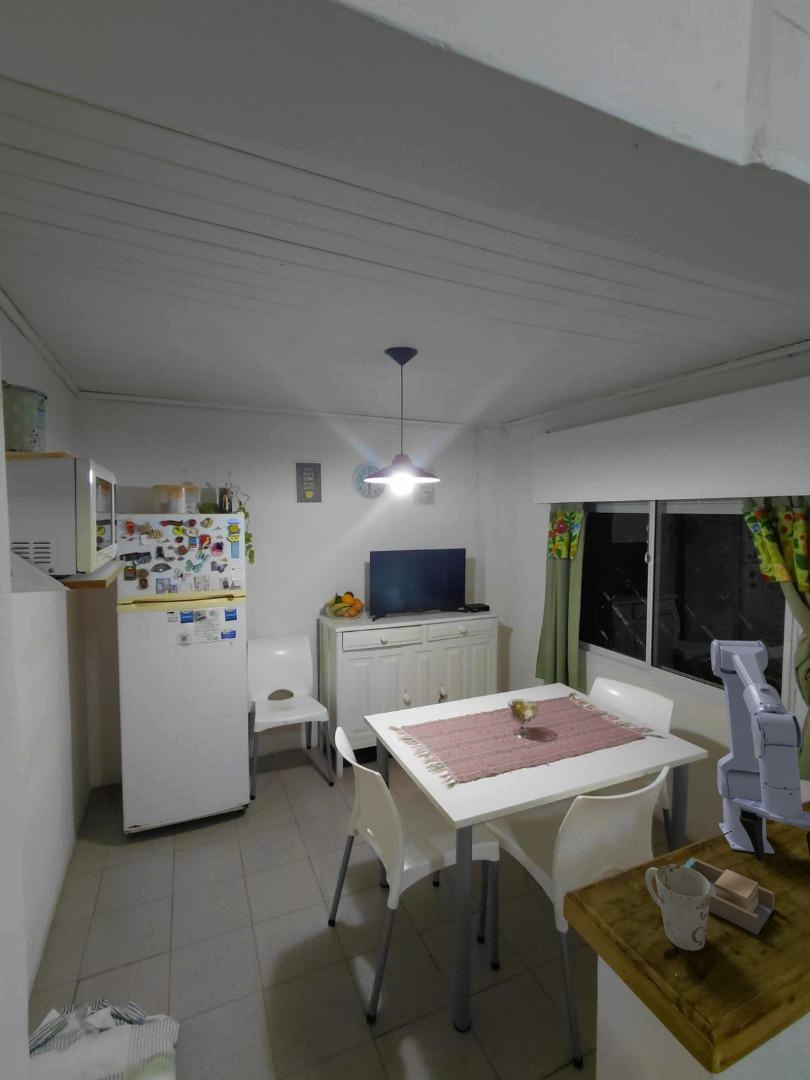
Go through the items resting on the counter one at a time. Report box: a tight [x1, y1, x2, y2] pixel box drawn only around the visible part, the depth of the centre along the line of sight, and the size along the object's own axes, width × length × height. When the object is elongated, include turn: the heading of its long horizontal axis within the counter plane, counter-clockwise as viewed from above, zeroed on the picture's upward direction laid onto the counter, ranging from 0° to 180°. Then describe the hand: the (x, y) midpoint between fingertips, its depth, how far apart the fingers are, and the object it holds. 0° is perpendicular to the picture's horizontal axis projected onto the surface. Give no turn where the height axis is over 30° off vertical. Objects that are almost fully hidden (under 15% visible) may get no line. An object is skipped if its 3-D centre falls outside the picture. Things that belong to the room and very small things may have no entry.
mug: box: [645, 863, 711, 952], centre depth 91 cm, size 8×13×10 cm, turn 22°
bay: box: [683, 856, 775, 936], centre depth 97 cm, size 14×9×3 cm, turn 39°
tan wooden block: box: [715, 868, 759, 913], centre depth 95 cm, size 5×6×4 cm
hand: (786, 867), depth 89 cm, fingers open, 7 cm apart
